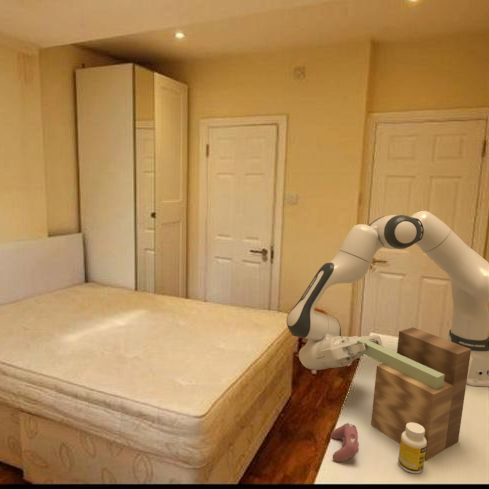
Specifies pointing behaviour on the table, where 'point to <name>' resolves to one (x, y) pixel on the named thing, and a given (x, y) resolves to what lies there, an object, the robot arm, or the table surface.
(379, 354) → the bar
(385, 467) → the table surface
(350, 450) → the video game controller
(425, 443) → the supplement bottle
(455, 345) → the pedestal
